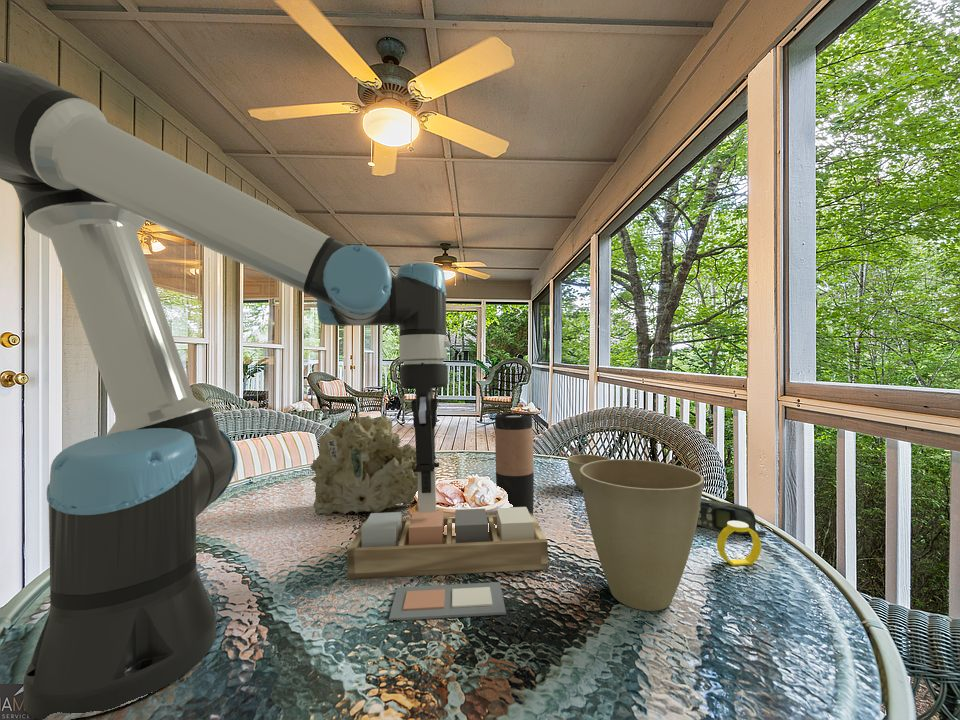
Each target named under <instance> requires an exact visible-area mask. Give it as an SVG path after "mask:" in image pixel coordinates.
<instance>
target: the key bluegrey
mask: <svg viewBox="0 0 960 720" xmlns="http://www.w3.org/2000/svg"><path fill="white" fill-rule="evenodd" d="M401 519H402V511H395V512H393V511H392V512H378V513H376V512H371V513H370V514H369V516H368V518H367V519H366V520H367V521H366V523H365V524H364V526H363V528H362V530H361V533H362V547H384V546H397V543H398V540H399V537H400V534H401V531H402V521H401Z"/></svg>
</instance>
